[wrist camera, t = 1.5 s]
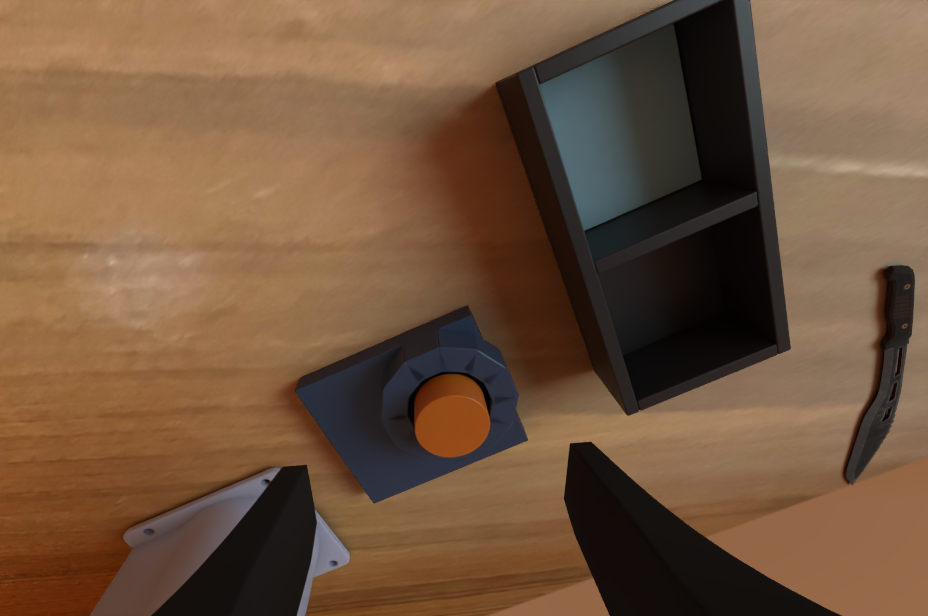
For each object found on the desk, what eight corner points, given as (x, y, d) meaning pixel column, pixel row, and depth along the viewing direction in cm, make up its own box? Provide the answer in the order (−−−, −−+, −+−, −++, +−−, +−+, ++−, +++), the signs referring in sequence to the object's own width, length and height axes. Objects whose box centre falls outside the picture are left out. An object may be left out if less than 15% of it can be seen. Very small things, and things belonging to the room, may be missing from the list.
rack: (593, 371, 24) (627, 416, 20) (494, 83, 18) (516, 73, 14) (731, 313, 23) (791, 349, 20) (676, -1, 17) (747, -33, 14)
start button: (431, 441, 21) (433, 468, 19) (402, 390, 20) (401, 414, 18) (494, 416, 21) (501, 440, 19) (468, 362, 20) (473, 384, 18)
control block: (375, 487, 25) (370, 532, 22) (299, 376, 22) (283, 413, 19) (532, 422, 25) (547, 460, 22) (477, 299, 21) (488, 326, 19)
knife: (841, 484, 30) (885, 471, 30) (847, 490, 29) (892, 477, 29) (859, 273, 23) (915, 256, 23) (867, 277, 23) (925, 258, 23)
